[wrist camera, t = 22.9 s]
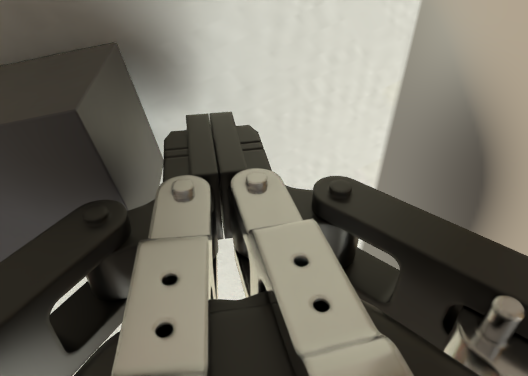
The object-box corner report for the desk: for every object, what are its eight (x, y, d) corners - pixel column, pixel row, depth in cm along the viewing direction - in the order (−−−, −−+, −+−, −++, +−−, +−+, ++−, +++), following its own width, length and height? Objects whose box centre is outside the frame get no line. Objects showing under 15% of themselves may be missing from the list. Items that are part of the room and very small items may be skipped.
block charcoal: (-26, 70, 12) (-124, 149, 9) (117, 41, 12) (75, 109, 9) (48, 183, 15) (-3, 278, 11) (164, 161, 15) (148, 249, 11)
